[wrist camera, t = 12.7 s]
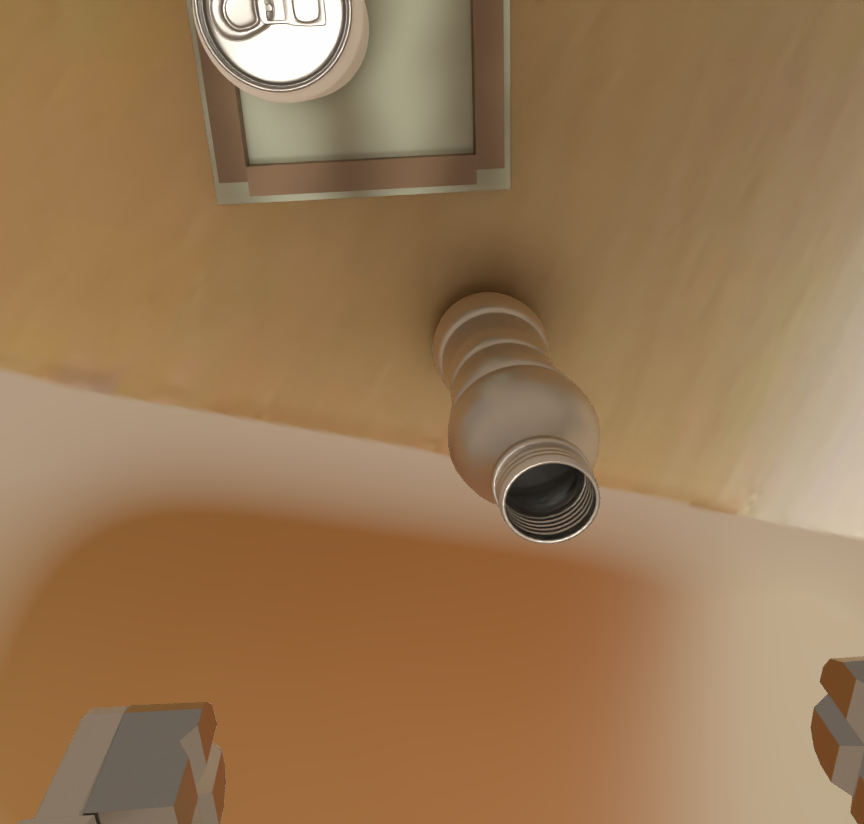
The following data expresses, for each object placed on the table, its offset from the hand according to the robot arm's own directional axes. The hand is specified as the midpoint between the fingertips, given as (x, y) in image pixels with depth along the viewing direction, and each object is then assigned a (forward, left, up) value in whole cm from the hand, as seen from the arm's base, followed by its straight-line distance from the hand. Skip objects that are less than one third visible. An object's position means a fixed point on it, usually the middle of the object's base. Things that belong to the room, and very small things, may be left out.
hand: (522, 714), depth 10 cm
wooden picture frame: (+3, -10, -36) cm, 38 cm away
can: (+5, -10, -36) cm, 37 cm away
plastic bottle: (-4, +7, -36) cm, 37 cm away
